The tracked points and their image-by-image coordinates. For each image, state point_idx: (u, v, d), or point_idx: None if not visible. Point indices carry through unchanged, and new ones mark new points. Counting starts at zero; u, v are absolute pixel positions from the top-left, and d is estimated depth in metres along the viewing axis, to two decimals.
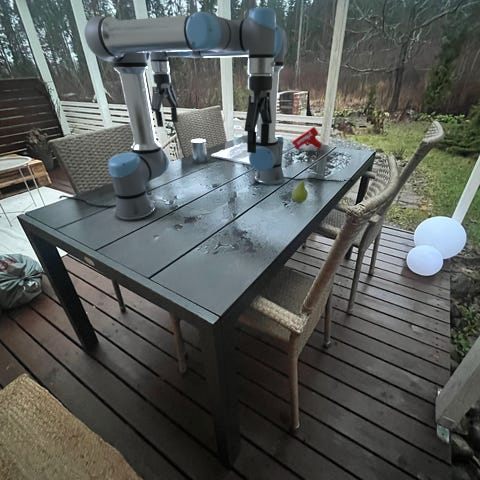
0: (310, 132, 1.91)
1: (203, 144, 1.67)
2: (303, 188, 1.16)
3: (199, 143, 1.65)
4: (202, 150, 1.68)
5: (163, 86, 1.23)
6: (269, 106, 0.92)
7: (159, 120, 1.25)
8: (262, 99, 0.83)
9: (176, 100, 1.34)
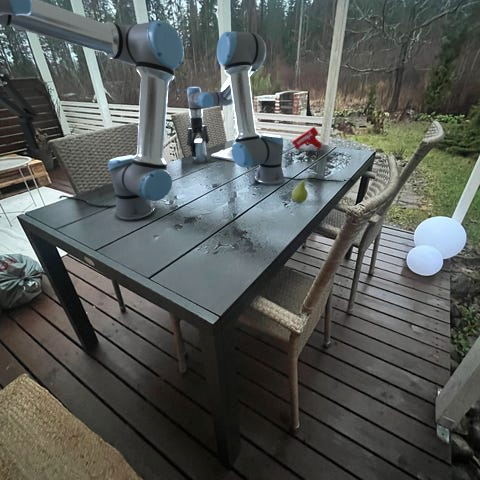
0: (310, 132, 1.91)
1: (203, 144, 1.67)
2: (303, 188, 1.16)
3: (199, 143, 1.65)
4: (202, 150, 1.68)
5: (196, 126, 1.62)
6: (16, 95, 0.63)
7: (193, 152, 1.68)
8: None
9: (207, 137, 1.71)
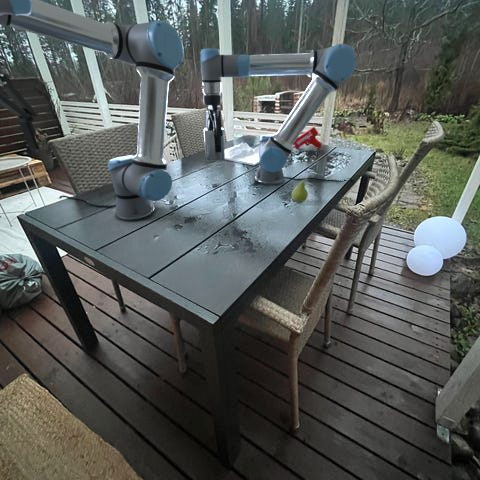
0: (310, 132, 1.91)
1: None
2: (303, 188, 1.16)
3: (223, 130, 1.19)
4: None
5: None
6: (16, 96, 0.63)
7: (218, 145, 1.19)
8: None
9: None
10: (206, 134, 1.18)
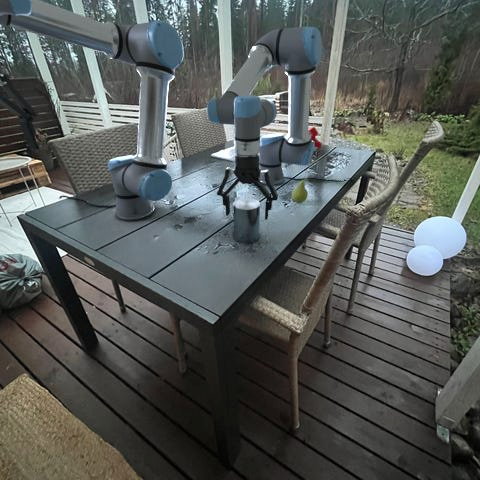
0: (310, 132, 1.91)
1: None
2: (303, 188, 1.16)
3: None
4: None
5: None
6: (16, 96, 0.63)
7: (268, 210, 0.91)
8: None
9: None
10: (249, 214, 0.88)
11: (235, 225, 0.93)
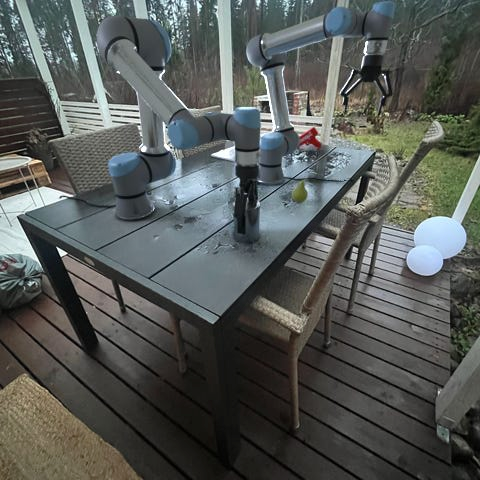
0: (310, 132, 1.91)
1: None
2: (303, 188, 1.16)
3: None
4: None
5: None
6: (256, 187, 0.93)
7: None
8: (249, 185, 0.85)
9: None
10: (249, 214, 0.88)
11: (235, 225, 0.93)
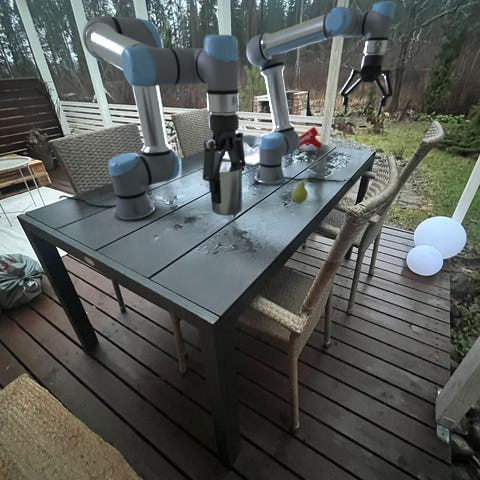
0: (310, 132, 1.91)
1: None
2: (303, 188, 1.16)
3: None
4: None
5: None
6: (241, 149, 0.76)
7: None
8: (224, 141, 0.69)
9: None
10: (224, 179, 0.72)
11: None
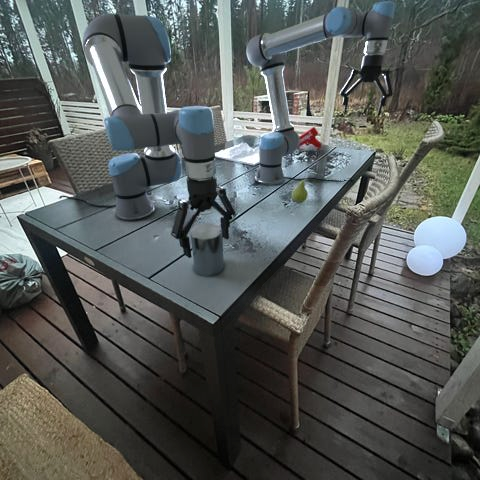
0: (310, 132, 1.91)
1: None
2: (303, 188, 1.16)
3: None
4: None
5: None
6: (226, 202, 0.76)
7: None
8: (200, 202, 0.69)
9: None
10: (201, 244, 0.73)
11: None
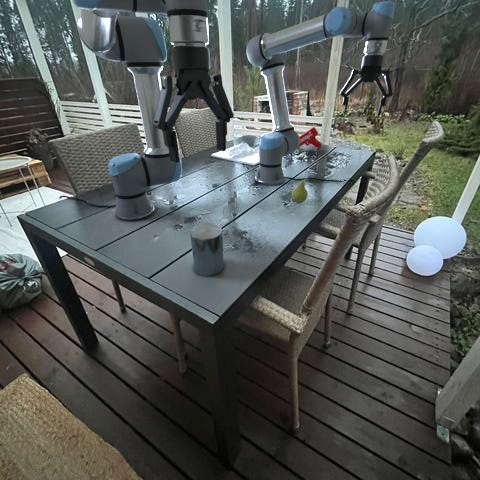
0: (310, 132, 1.91)
1: None
2: (303, 188, 1.16)
3: None
4: None
5: None
6: (222, 96, 0.61)
7: None
8: (189, 83, 0.55)
9: None
10: (201, 244, 0.73)
11: None
